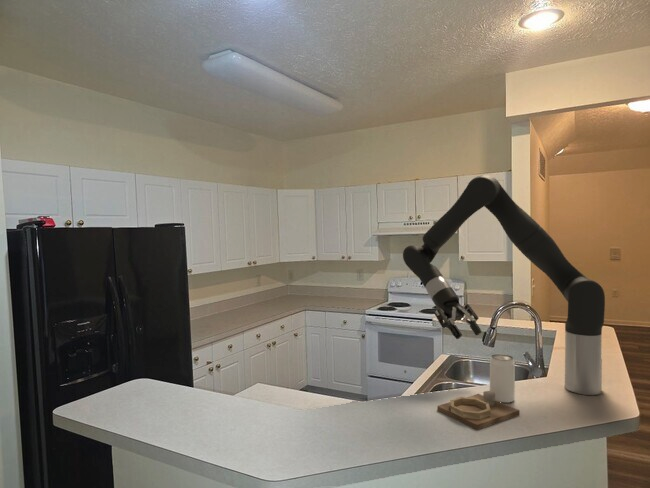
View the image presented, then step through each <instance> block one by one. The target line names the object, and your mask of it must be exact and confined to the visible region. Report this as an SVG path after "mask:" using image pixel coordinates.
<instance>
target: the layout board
mask: <svg viewBox="0 0 650 488" xmlns="http://www.w3.org/2000/svg"><path fill="white" fill-rule="evenodd" d="M482 393H483V394H480V393H475V394H473V395H470V396H460V397H456V398H453V399H450V400H449V402H446V403H442V404H439V405H437V406H436V409H437V412H440V413H442V414H445V415H447V416H448V417H450V418H452V419H454V420H456V421H458V422H460V423H462V424H465V425H466V426H468V427H471V428H473V429H475V430H478V431H479V430H480V429H483V428H486V427H489V426H491V425H494V424H495V425H496V424H497V423H501V422H504V421H506V420H509V419H511V418H514V417H517V416H520V409H518V408H516V407H513V406H510V405H508V404H506V403H500V402H498V401H495V393H494V392H491V391H490V390H485V391H483V392H482Z"/></svg>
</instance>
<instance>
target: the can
mask: <svg viewBox="0 0 650 488" xmlns="http://www.w3.org/2000/svg"><path fill="white" fill-rule="evenodd" d="M489 361H490V362H489V391H491V392H494V393H495V401H498V402H501V403H503V404H510V402H511V403H513V402H514V401H515V396H516V393H515V391H516V390H515V389H516V388H515V387H516V386H515V385H516V383H515V382H516V379H515V378H516V377H515V375H516V374H515V371H516V370H515V369H516V368H515V366H516V365H515V362H514V358H513V356H511V355H508V354H505V353H504V354H503V353H496V354H495V353H494V354H491V358H490V360H489Z"/></svg>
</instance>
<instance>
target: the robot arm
mask: <svg viewBox="0 0 650 488" xmlns="http://www.w3.org/2000/svg"><path fill="white" fill-rule="evenodd" d="M482 208H486V209H487V210H488V211H489V212H490V213H491V214H492V215H493V216H494V217H495V218H496V219H497V221H498V223H500V226H501V227H502V229H503V231H504V232H505V234H506V235H507V238H509V240H510V241H511V242H512V244H513V245H514V246H515V247H516V248H517V250H518V251H520V252H521V254H522V255H523V256H524V257H525V258H526V259H528V260H529V261H530V263H532V264H533V265H534V266H536V267H537V268H538V269H539V270H540V271H542V272H543V273H544V274H545V275H546V276H547V277H548V278H549V279H550V280H551V281H552V283H553V285H554V286H555V287H556V288H557V290H558V291H559V292H560V293H561V295H563V298H564V299H565V300H566V302H567V318H566V320H565V323H564V324H565V325H564V326H565V327H564V329H565V330H564V346H565V347H564V388H565V389H566V390H567V391H569V392H572V393H575V394H578V395H579V394H580V395H584V396H585V395H586V396H598V395H600V394H601V393H602V389H603V388H602V383H603V382H602V381H603V380H602V379H603V376H602V375H603V367H602V364H603V362H602V361H603V360H602V346H603V345H602V338H603V337H602V331H603V327H604V323H605V312H606V311H605V310H606V308H605V307H606V305H605V304H606V297H605V296H606V295H605V291H604V289H603V287H602V286H601V285H600V283H598V282H596V281H595V280H593V279H590V278H588V277H586V275H584V274H583V273H582V272H580V271H579V270H578V269H577V268H576V267H575V266H573V264H571V262H570V261H569V260H568V259H567V258H566V257H565V255H564V254H563V252H562V251H561V248H560V247H559V245H558V244H557V243H556V242H555V240H554V239H553V238H552V236H551V235H550V234H549V233H548V232H547V231H546V229H544V228H543V227H542V226H541V225H540V224H539V223H538V222H537V221H536V220H535V219H534V218H532V216H531V215H529V214H528V213H527V212H526V211H525V210H524V209H523V208H522V207H520V206H519V205H518V204H517V203H516V202H515V201H514V199H513V198H511V196H510V195H509V194H508V192H507V191H506V190H505V188H504V187H503V186H502V184H501V183H500V182H499V180H497V178H495V177H494V176H492V175H490V174H481V175H478V176H475V177H474V178H472V179H471V180H470V181H469V182H468V184H467V186H466V187H465V189H464V190H463V191H462V193H461V194H460V196H459V198H458V199H457V200H456V201H455V202H454V203H453V205H452V206H451V207H450V209H449V210H447V211H446V213H444V214H443V215H442V216H441V217H440V218H439V219H437V221H436V222H434V224H432V226H431V227H430V228H429V229H428V230H427V231H426V232H425V234H424V235H423V236H422V242H423V244H422V246H418V245H407V246H406V247H405V248H404V249H403V252H402V259H403V262H404V264H405V265H406V266H407V268H408V269H409V270H410V271H411V272H412V273H413V274H414V275H415V276H416V277H417V278H419V280H420V282H421V284H422V285H423V287H424V288H425V291H426V293H427V295H428V297H429V298H430V299H431V301H432V302H433V304H434V306H435V307H436V308H437V309H436V310H435V311H434V312H433V313H434V316H435V318H436V319H437V321H438V323H439V325H440V326H441V328H443V329H445V328H446V329H447V330H450V332H451V334H452V335H453V337H455V339H456V340H459V339H461V338H462V336H463V334H462V333H461V331H460V330H459V329H460V328H458V326H457V324H455V323H456V321H457V322H458V321H460V322H462V323H466V324H467V325H469V327H470V329H471V331H472V332H473V334H474V335H475V336H479V335H481V334H482V330H481V328H480V326H479V325H478V323H477V321H478V320H479V319H480V318H479V316H478V315H477V313H476V312H475V311H474V309H473V308H472V307H471V305H470V304H468V303H466V304H465V305H462V304H461V303H460V298H459V296H458V295H457V293H456V292H455V289H453V288H452V286H451V284H450V283H449V281H447V279H446V278H445V277H444V276H443V274H442V272H441V271H440V270H439V269H438V268H439V267H437V266H436V265H434V264H432V262H433V260H434V259H435V257H436V255H437V254H438V253H439V250H440V249H441V248H442V247H443V246H444V245H445V244H446V243H447V242H448V241H449V240H450V239H451V238H452V237H453V236H454V235H455V234H456V232H457V231H458V230H459V229H460V228H461V227H462V225H463V224H465V222H466V221H467V220H469V218H470V217H472V216H473V215H474V214H476V212H478V211H480V210H481V209H482Z"/></svg>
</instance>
